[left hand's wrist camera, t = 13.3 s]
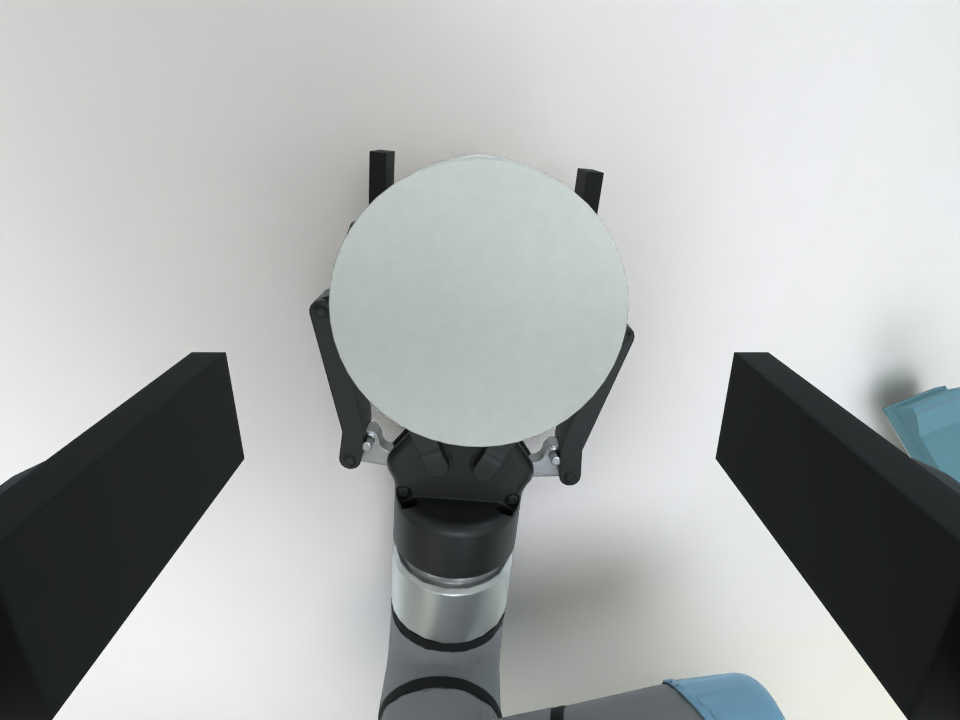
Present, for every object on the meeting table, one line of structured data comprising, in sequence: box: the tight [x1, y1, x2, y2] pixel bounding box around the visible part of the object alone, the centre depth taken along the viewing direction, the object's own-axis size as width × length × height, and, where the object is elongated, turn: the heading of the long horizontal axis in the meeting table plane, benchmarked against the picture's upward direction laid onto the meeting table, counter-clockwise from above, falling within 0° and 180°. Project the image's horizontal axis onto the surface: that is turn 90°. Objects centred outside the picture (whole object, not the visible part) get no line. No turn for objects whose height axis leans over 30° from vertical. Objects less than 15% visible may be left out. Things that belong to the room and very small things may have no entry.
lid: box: [329, 156, 628, 447], centre depth 20 cm, size 10×10×2 cm
